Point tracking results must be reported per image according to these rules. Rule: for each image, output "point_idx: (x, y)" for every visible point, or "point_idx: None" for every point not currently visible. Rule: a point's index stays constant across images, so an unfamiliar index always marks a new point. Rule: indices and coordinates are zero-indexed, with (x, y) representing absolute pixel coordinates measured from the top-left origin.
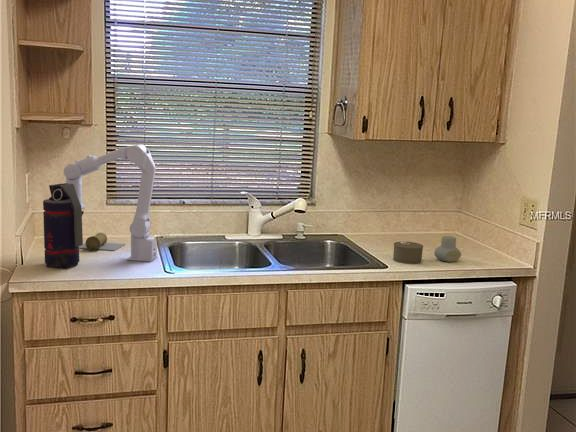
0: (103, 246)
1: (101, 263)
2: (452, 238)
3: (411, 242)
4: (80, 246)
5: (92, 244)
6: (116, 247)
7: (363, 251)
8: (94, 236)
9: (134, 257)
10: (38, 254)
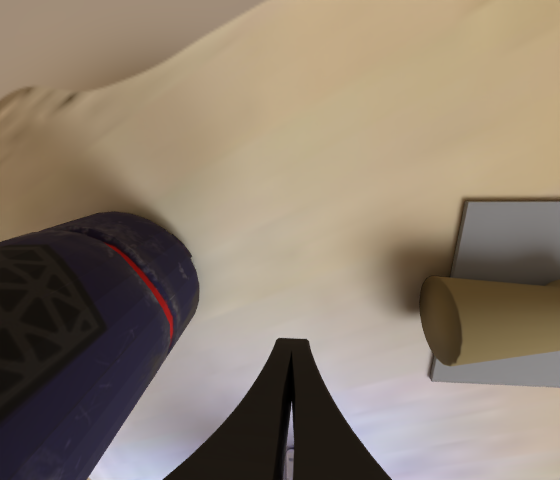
0: None
1: (219, 389)
2: None
3: None
4: (498, 212)
5: (435, 314)
6: (487, 375)
7: None
8: (465, 355)
9: (292, 477)
10: (280, 56)
